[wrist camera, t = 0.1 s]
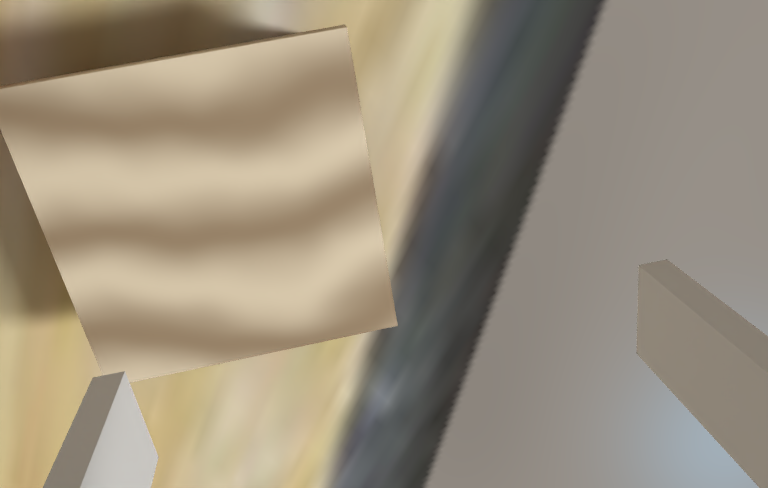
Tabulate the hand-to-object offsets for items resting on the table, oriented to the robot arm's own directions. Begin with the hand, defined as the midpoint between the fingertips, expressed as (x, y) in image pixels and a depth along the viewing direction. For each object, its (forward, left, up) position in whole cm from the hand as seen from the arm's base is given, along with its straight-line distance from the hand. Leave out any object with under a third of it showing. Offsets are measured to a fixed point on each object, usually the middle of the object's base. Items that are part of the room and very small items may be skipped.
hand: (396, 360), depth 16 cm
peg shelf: (+3, -7, -28) cm, 29 cm away
